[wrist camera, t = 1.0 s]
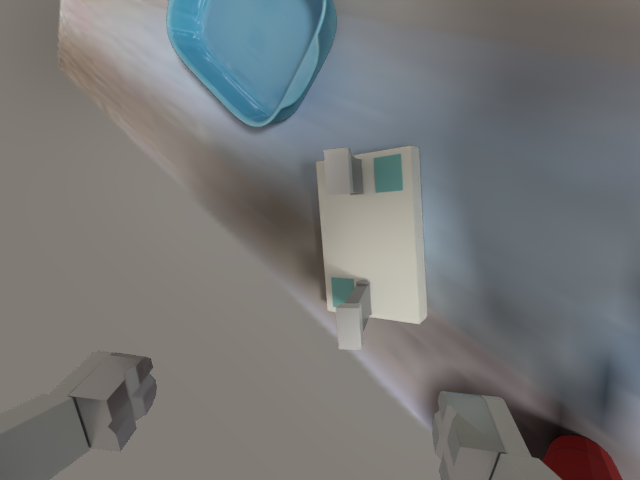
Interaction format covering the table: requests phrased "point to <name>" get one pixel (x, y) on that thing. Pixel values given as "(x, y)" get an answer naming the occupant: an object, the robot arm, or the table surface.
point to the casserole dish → (254, 51)
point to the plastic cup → (580, 459)
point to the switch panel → (377, 236)
